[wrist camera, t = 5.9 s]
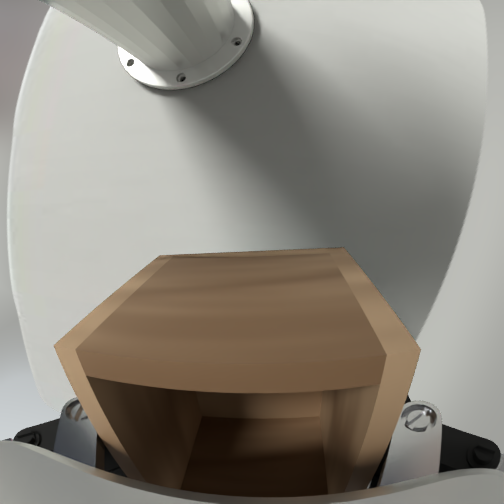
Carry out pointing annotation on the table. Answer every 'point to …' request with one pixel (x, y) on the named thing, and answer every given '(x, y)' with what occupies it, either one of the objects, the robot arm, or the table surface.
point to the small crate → (244, 373)
